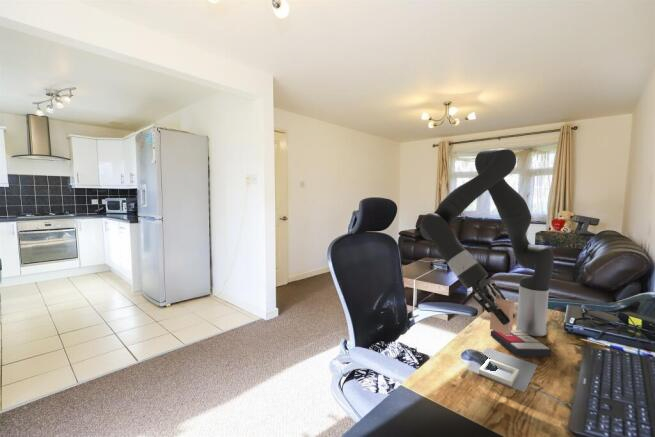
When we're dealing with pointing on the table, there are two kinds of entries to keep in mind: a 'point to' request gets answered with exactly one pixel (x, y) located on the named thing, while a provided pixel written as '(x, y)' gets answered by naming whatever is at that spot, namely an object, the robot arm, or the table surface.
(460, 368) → the table surface
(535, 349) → the calculator
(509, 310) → the pillar block
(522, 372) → the build board
